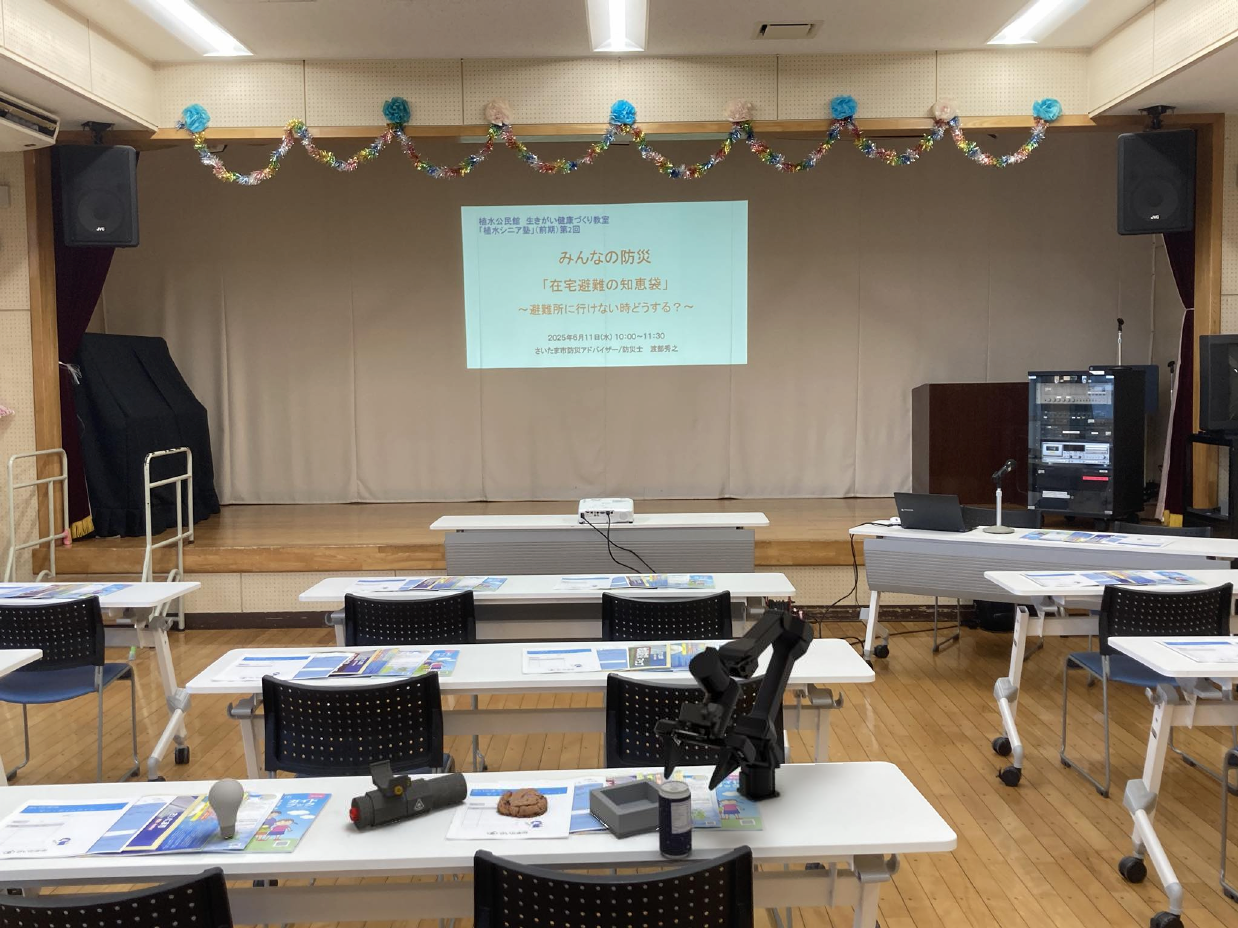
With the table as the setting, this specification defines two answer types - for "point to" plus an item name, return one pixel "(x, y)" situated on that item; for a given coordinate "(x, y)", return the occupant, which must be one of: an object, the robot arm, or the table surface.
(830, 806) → the table surface
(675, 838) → the beverage can
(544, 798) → the cookie
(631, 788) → the can bin
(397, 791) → the laser sight
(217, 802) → the lightbulb
